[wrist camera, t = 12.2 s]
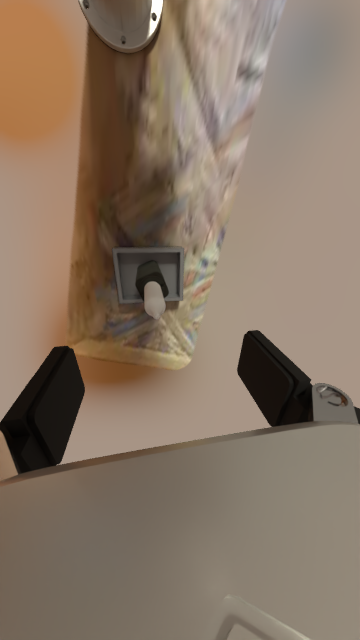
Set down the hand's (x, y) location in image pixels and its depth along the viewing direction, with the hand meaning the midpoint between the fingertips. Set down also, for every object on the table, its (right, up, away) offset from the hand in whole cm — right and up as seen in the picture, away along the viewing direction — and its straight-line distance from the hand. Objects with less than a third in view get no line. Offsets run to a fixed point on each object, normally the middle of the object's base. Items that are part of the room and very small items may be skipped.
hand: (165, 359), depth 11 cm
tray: (-6, +14, +35) cm, 38 cm away
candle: (-6, +14, +35) cm, 38 cm away
